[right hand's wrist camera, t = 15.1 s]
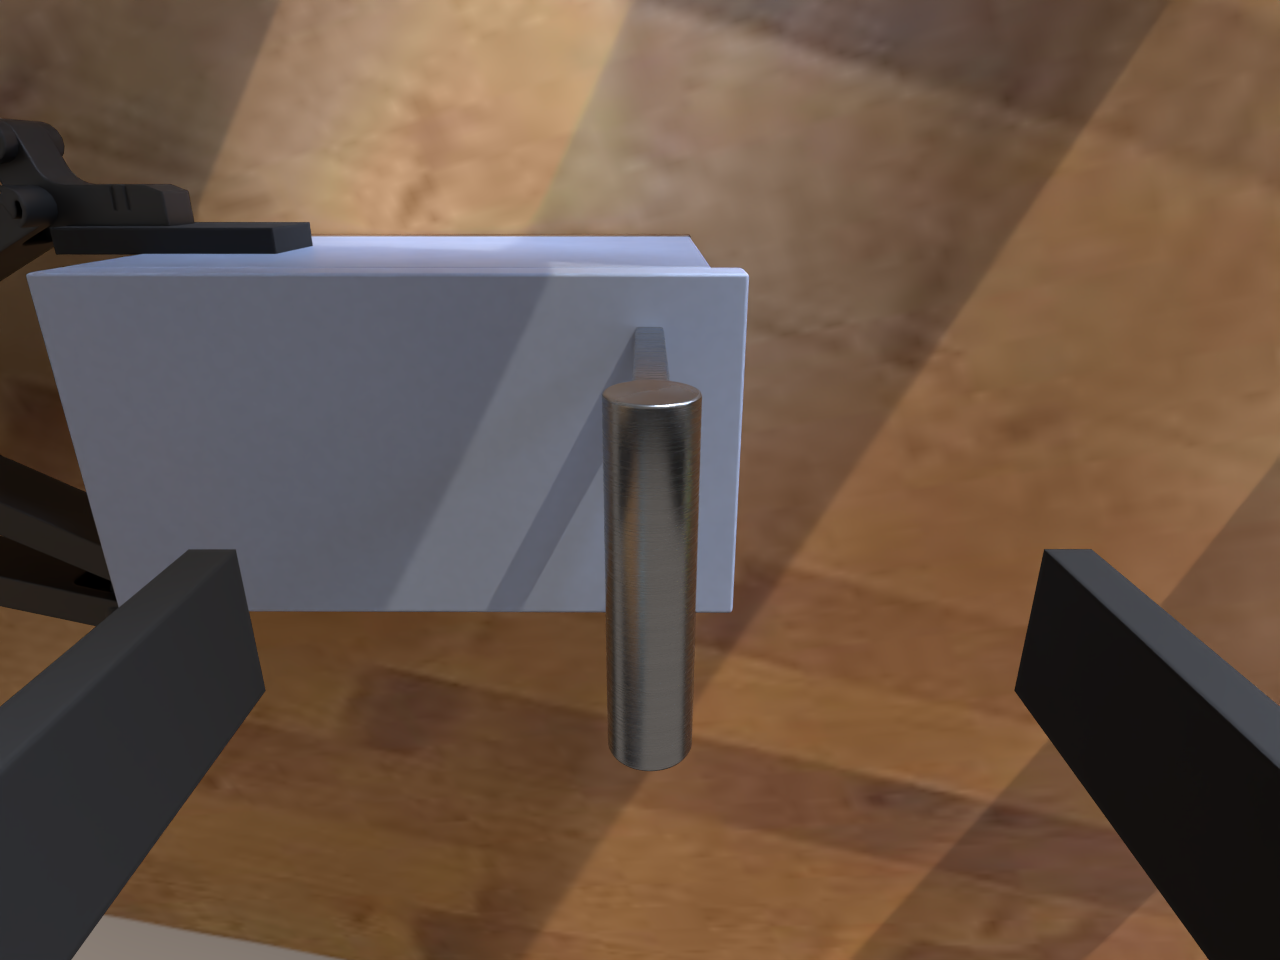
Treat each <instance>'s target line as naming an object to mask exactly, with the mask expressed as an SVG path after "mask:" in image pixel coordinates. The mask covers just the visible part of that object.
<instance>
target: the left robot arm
mask: <svg viewBox="0 0 1280 960" xmlns="http://www.w3.org/2000/svg"><path fill="white" fill-rule="evenodd" d="M63 154H64V143H63V140H62V137H61V136H60V134H59V133H58V131H57V130H56V129H55V128H53V127H52V126H51V125H49V124H47V123H44V122H38V121H26V120H14V119H3V118H0V182H1V183H2V185H0V192H1V194H0V281H1V280H3V279H4V278H6V277H8V276H9V275H11V274H12V273H14V272H15V271H17V270H18V269H20V268H22V267H23V266H25V265H26V264H28V263H29V262H31V261H33V260H34V259H36V258H37V257H39V256H40V255H42V254H43V253H45V252H47V251H48V250H50V249H51V248H53V247H54V248H55V252H56V254H279V253H283V252H288V251H292V250H297V249H301V248H306V247H310V246H313V243H312V236H311V230H310V223H309V222H194V218H193V213H192V208H191V203H190V198H189V193H188V191H187V190H184V189H182V188H179V187H177V186H174V185H172V184H91V183H88V182H85V181H83V180H81V179H80V178H78V177H77V176H76V175H75V174H73V173H72V171H71V170H70V169H69V167H68V166H67V164H66V163H65V161H64V159H63V157H62V156H63ZM0 535H2V536H0V606H2V607H7V608H12V609H17V610H22V611H26V612H31V613H36V614H41V615H46V616H50V617H55V618H60V619H65V620H70V621H74V622H79V623H84V624H89V625H94V626H97V625H99V624H100V623H101V622H102V621H103V620H105V619H106V618H107V617H108V616H109V615H111V614H112V613H113V612H114V611H115V610H117V609H118V608H119V607H118V603H117V600H116V596H115V592H114V589H113V585H112V582H111V578H110V575H109V571H108V567H107V564H106V560H105V557H104V553H103V550H102V546H101V542H100V539H99V535H98V532H97V528H96V525H95V521H94V517H93V514H92V510H91V507H90V503H89V499H88V496H87V492H84V491H82V490H80V489H77V488H75V487H73V486H70V485H68V484H66V483H63V482H61V481H59V480H57V479H54V478H52V477H50V476H47V475H45V474H43V473H40V472H38V471H36V470H33V469H31V468H29V467H27V466H24V465H22V464H20V463H17V462H15V461H13V460H10V459H8V458H6V457H3V456H2V455H0Z"/></svg>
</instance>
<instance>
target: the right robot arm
mask: <svg viewBox="0 0 1280 960" xmlns="http://www.w3.org/2000/svg"><path fill="white" fill-rule="evenodd" d="M265 691H266V690H265V686H264V681H263V676H262V671H261V667H260V662H259V657H258V652H257V648H256V643H255V638H254V633H253V629H252V624H251V619H250V614H249V610H248V605H247V600H246V595H245V591H244V586H243V581H242V576H241V572H240V567H239V562H238V557H237V553H236V549H188V550H187V551H186V552H185V553H184V554H182V555H181V556H180V557H179V558H178V559H176V560H175V561H174V562H173V563H172V564H170V565H169V566H168V567H167V568H166V569H164V570H163V571H162V572H161V573H160V574H158V575H157V576H156V577H155V578H154V579H152V580H151V581H150V582H149V583H148V584H147V585H145V586H144V587H143V588H142V589H141V590H139V591H138V592H137V593H136V594H135V595H133V596H132V597H131V598H130V599H129V600H127V601H126V602H125V603H124V604H123V605H121V606H120V607H119V608H118V609H117V610H115V611H114V612H113V613H112V614H111V615H109V616H108V617H107V618H106V619H105V620H103V621H102V622H101V623H100V624H99V625H97V626H96V627H95V628H94V629H93V630H91V631H90V632H89V633H88V634H87V635H85V636H84V637H83V638H82V639H81V640H79V641H78V642H77V643H76V644H75V645H73V646H72V647H71V648H70V649H69V650H68V651H66V652H65V653H64V654H63V655H62V656H60V657H59V658H58V659H57V660H56V661H54V662H53V663H52V664H51V665H50V666H48V667H47V668H46V669H45V670H44V671H42V672H41V673H40V674H39V675H38V676H36V677H35V678H34V679H33V680H32V681H30V682H29V683H28V684H27V685H26V686H24V687H23V688H22V689H21V690H20V691H18V692H17V693H16V694H15V695H14V696H12V697H11V698H10V699H9V700H8V701H6V702H5V703H4V704H3V705H2V706H0V960H71V959H72V958H73V956H74V955H75V954H76V952H77V951H78V950H79V948H80V947H81V945H82V944H83V943H84V941H85V940H86V938H87V937H88V936H89V934H90V933H91V932H92V930H93V929H94V927H95V926H96V925H97V923H98V922H99V920H100V919H101V918H102V916H103V915H104V914H105V912H106V911H107V909H108V908H109V907H110V905H111V904H112V902H113V901H114V900H115V898H116V897H117V896H118V894H119V893H120V891H121V890H122V889H123V887H124V886H125V884H126V883H127V882H128V880H129V879H130V878H131V876H132V875H133V873H134V872H135V871H136V869H137V868H138V866H139V865H140V864H141V862H142V861H143V860H144V858H145V857H146V855H147V854H148V853H149V851H150V850H151V848H152V847H153V846H154V844H155V843H156V842H157V840H158V839H159V837H160V836H161V835H162V833H163V832H164V830H165V829H166V828H167V826H168V825H169V824H170V822H171V821H172V819H173V818H174V817H175V815H176V814H177V812H178V811H179V810H180V808H181V807H182V806H183V804H184V803H185V801H186V800H187V799H188V797H189V796H190V794H191V793H192V792H193V790H194V789H195V788H196V786H197V785H198V783H199V782H200V781H201V779H202V778H203V777H204V775H205V774H206V772H207V771H208V770H209V768H210V767H211V765H212V764H213V763H214V761H215V760H216V759H217V757H218V756H219V754H220V753H221V752H222V750H223V749H224V747H225V746H226V745H227V743H228V742H229V741H230V739H231V738H232V736H233V735H234V734H235V732H236V731H237V729H238V728H239V727H240V725H241V724H242V723H243V721H244V720H245V718H246V717H247V716H248V714H249V713H250V711H251V710H252V709H253V707H254V706H255V705H256V703H257V702H258V700H259V699H260V698H261V696H262V695H263V693H264V692H265ZM1014 691H1015V692H1016V693H1017V695H1018V696H1019V698H1020V699H1021V700H1022V702H1023V703H1024V705H1025V706H1026V707H1027V709H1028V710H1029V711H1030V713H1031V714H1032V716H1033V717H1034V718H1035V720H1036V721H1037V723H1038V724H1039V725H1040V727H1041V728H1042V729H1043V731H1044V732H1045V734H1046V735H1047V736H1048V738H1049V739H1050V741H1051V742H1052V743H1053V745H1054V746H1055V747H1056V749H1057V750H1058V752H1059V753H1060V754H1061V756H1062V757H1063V759H1064V760H1065V761H1066V763H1067V764H1068V765H1069V767H1070V768H1071V770H1072V771H1073V772H1074V774H1075V775H1076V777H1077V778H1078V779H1079V781H1080V782H1081V783H1082V785H1083V786H1084V788H1085V789H1086V790H1087V792H1088V793H1089V795H1090V796H1091V797H1092V799H1093V800H1094V801H1095V803H1096V804H1097V806H1098V807H1099V808H1100V810H1101V811H1102V812H1103V814H1104V815H1105V817H1106V818H1107V819H1108V821H1109V822H1110V824H1111V825H1112V826H1113V828H1114V829H1115V830H1116V832H1117V833H1118V835H1119V836H1120V837H1121V839H1122V840H1123V842H1124V843H1125V844H1126V846H1127V847H1128V848H1129V850H1130V851H1131V853H1132V854H1133V855H1134V857H1135V858H1136V860H1137V861H1138V862H1139V864H1140V865H1141V866H1142V868H1143V869H1144V871H1145V872H1146V873H1147V875H1148V876H1149V878H1150V879H1151V880H1152V882H1153V883H1154V884H1155V886H1156V887H1157V889H1158V890H1159V891H1160V893H1161V894H1162V896H1163V897H1164V898H1165V900H1166V901H1167V902H1168V904H1169V905H1170V907H1171V908H1172V909H1173V911H1174V912H1175V914H1176V915H1177V916H1178V918H1179V919H1180V920H1181V922H1182V923H1183V925H1184V926H1185V927H1186V929H1187V930H1188V932H1189V933H1190V934H1191V936H1192V937H1193V938H1194V940H1195V941H1196V943H1197V944H1198V945H1199V947H1200V948H1201V950H1202V951H1203V952H1204V954H1205V955H1206V956H1207V958H1208V959H1209V960H1280V706H1278V705H1277V704H1276V703H1275V702H1274V701H1272V700H1271V699H1270V698H1269V697H1268V696H1266V695H1265V694H1264V693H1263V692H1262V691H1260V690H1259V689H1258V688H1257V687H1256V686H1254V685H1253V684H1252V683H1251V682H1250V681H1248V680H1247V679H1246V678H1245V677H1244V676H1242V675H1241V674H1240V673H1239V672H1238V671H1236V670H1235V669H1234V668H1233V667H1232V666H1230V665H1229V664H1228V663H1227V662H1226V661H1224V660H1223V659H1222V658H1221V657H1220V656H1218V655H1217V654H1216V653H1215V652H1214V651H1212V650H1211V649H1210V648H1209V647H1208V646H1206V645H1205V644H1204V643H1203V642H1202V641H1201V640H1199V639H1198V638H1197V637H1196V636H1195V635H1193V634H1192V633H1191V632H1190V631H1189V630H1187V629H1186V628H1185V627H1184V626H1183V625H1181V624H1180V623H1179V622H1178V621H1177V620H1175V619H1174V618H1173V617H1172V616H1171V615H1169V614H1168V613H1167V612H1166V611H1165V610H1163V609H1162V608H1161V607H1160V606H1159V605H1157V604H1156V603H1155V602H1154V601H1153V600H1151V599H1150V598H1149V597H1148V596H1147V595H1145V594H1144V593H1143V592H1142V591H1141V590H1139V589H1138V588H1137V587H1136V586H1135V585H1133V584H1132V583H1131V582H1130V581H1129V580H1128V579H1126V578H1125V577H1124V576H1123V575H1122V574H1120V573H1119V572H1118V571H1117V570H1116V569H1114V568H1113V567H1112V566H1111V565H1110V564H1108V563H1107V562H1106V561H1105V560H1104V559H1102V558H1101V557H1100V556H1099V555H1098V554H1096V553H1095V552H1094V551H1093V550H1092V549H1044V553H1043V557H1042V562H1041V567H1040V572H1039V576H1038V581H1037V586H1036V591H1035V595H1034V600H1033V605H1032V610H1031V614H1030V619H1029V624H1028V629H1027V633H1026V638H1025V643H1024V648H1023V652H1022V657H1021V662H1020V667H1019V671H1018V676H1017V681H1016V686H1015V690H1014Z"/></svg>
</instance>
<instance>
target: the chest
mask: <svg viewBox="0 0 1280 960" xmlns="http://www.w3.org/2000/svg"><path fill="white" fill-rule="evenodd" d="M311 236H312V243H313V246H310V247H306V248H301V249H297V250H292V251H288V252H283V253H279V254H140V255H133V256H127V257H121V258H115V259H109V260H103V261H96V262H90V263H84V264H78V265H72V266H66V267H201V268H711V267H710V266H709V264H708V263H707V262H706V260H705V259H704V257H703V256H702V254H701V253H700V251H699V250H698V249H697V247H696V246H695V244H694V243H693V241H692V240H691V238H690V235H689V234H311Z"/></svg>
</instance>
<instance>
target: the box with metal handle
mask: <svg viewBox="0 0 1280 960" xmlns="http://www.w3.org/2000/svg"><path fill="white" fill-rule="evenodd" d="M26 278H27V281H28V285H29V288H30V292H31V296H32V299H33V303H34V306H35V310H36V313H37V317H38V321H39V324H40V328H41V331H42V335H43V339H44V342H45V346H46V349H47V353H48V356H49V360H50V364H51V367H52V371H53V374H54V378H55V381H56V385H57V389H58V392H59V396H60V399H61V403H62V406H63V410H64V414H65V417H66V421H67V424H68V428H69V432H70V435H71V439H72V442H73V446H74V449H75V453H76V457H77V460H78V464H79V467H80V471H81V474H82V478H83V482H84V485H85V489H86V492H87V496H88V499H89V503H90V507H91V510H92V514H93V517H94V521H95V525H96V528H97V532H98V535H99V539H100V542H101V546H102V550H103V553H104V557H105V560H106V564H107V567H108V571H109V575H110V578H111V582H112V585H113V589H114V592H115V596H116V600H117V603H118V607H120V606H121V605H123V604H124V603H125V602H126V601H127V600H129V599H130V598H131V597H132V596H133V595H135V594H136V593H137V592H138V591H139V590H141V589H142V588H143V587H144V586H145V585H147V584H148V583H149V582H150V581H151V580H152V579H154V578H155V577H156V576H157V575H158V574H160V573H161V572H162V571H163V570H164V569H166V568H167V567H168V566H169V565H170V564H172V563H173V562H174V561H175V560H176V559H178V558H179V557H180V556H181V555H182V554H184V553H185V552H186V551H187V550H188V549H236V553H237V557H238V562H239V567H240V572H241V576H242V581H243V586H244V591H245V595H246V600H247V605H248V610H249V611H348V612H606V654H607V708H608V745H609V748H610V751H611V753H612V754H613V756H614V757H615V758H616V759H617V760H618V761H619V762H621V763H622V764H624V765H626V766H628V767H631V768H633V769H637V770H643V771H658V770H663V769H667V768H670V767H673V766H675V765H677V764H678V763H680V762H681V761H682V760H683V759H684V758H685V757H686V756H687V754H688V753H689V751H690V749H691V745H692V716H693V682H694V649H695V616H696V612H705V613H729V612H731V611H732V608H733V588H734V568H735V548H736V528H737V507H738V487H739V467H740V447H741V427H742V407H743V387H744V367H745V346H746V326H747V306H748V286H749V276H748V274H747V273H746V272H745V271H744V270H743V269H742V268H201V267H60V268H54V269H48V270H42V271H36V272H30V273H28V274H26Z"/></svg>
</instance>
